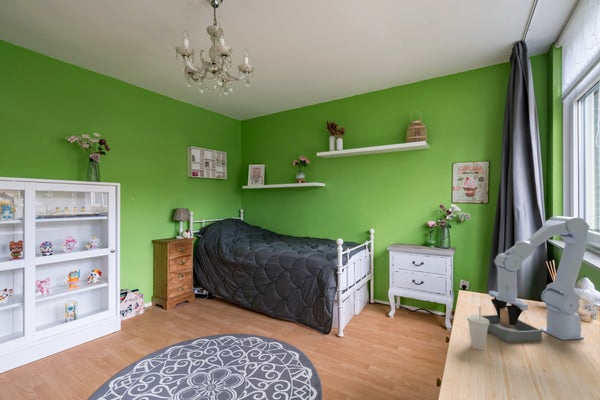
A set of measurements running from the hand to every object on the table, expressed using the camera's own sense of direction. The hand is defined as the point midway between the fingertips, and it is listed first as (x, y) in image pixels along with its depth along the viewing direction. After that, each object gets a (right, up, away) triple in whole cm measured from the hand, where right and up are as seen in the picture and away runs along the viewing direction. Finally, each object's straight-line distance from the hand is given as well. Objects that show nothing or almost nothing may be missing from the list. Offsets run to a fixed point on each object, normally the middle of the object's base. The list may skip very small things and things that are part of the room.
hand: (507, 321), depth 103 cm
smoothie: (-18, -4, -10) cm, 21 cm away
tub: (0, -4, 0) cm, 4 cm away
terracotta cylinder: (0, -2, 0) cm, 2 cm away
